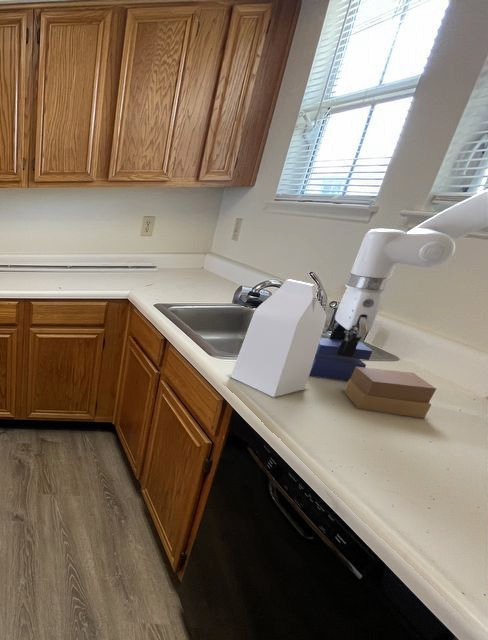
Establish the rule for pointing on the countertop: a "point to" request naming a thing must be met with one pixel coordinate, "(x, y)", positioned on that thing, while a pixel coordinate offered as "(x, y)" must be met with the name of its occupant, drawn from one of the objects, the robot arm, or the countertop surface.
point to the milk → (282, 340)
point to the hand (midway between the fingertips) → (339, 349)
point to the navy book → (333, 345)
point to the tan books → (390, 391)
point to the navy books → (334, 367)
